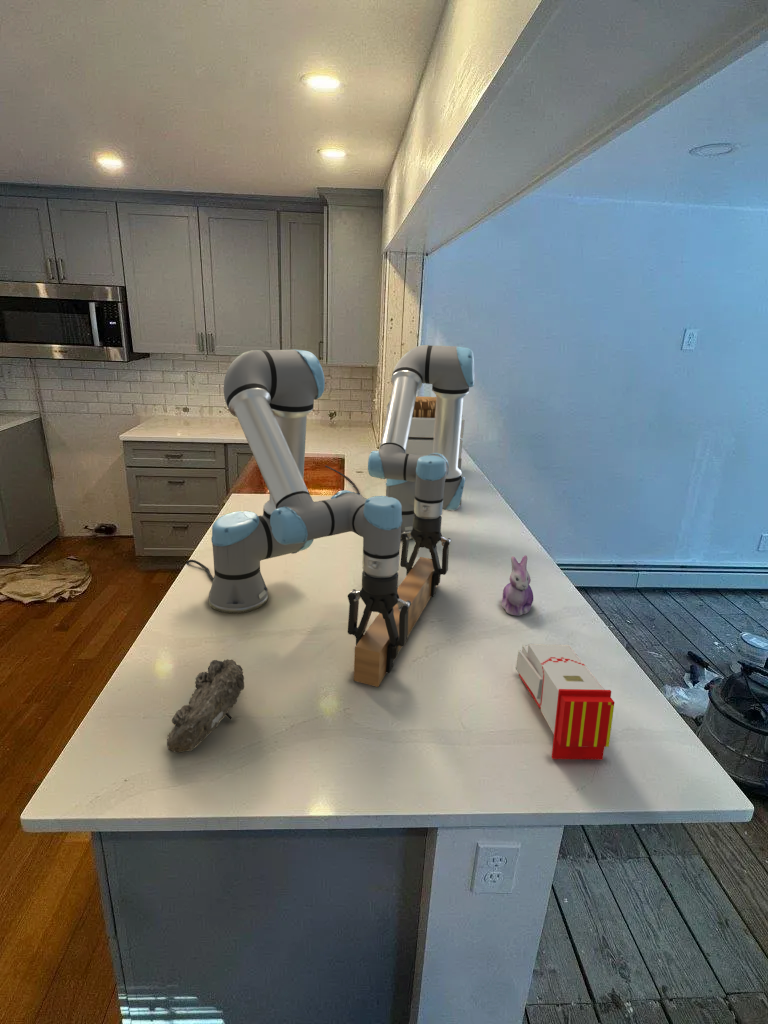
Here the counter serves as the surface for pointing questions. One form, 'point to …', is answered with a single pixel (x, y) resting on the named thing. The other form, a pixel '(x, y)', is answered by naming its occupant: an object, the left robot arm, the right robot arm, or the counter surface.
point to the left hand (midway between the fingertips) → (376, 665)
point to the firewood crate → (425, 428)
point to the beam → (376, 637)
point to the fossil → (206, 705)
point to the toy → (568, 700)
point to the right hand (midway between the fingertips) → (422, 592)
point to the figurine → (518, 589)
